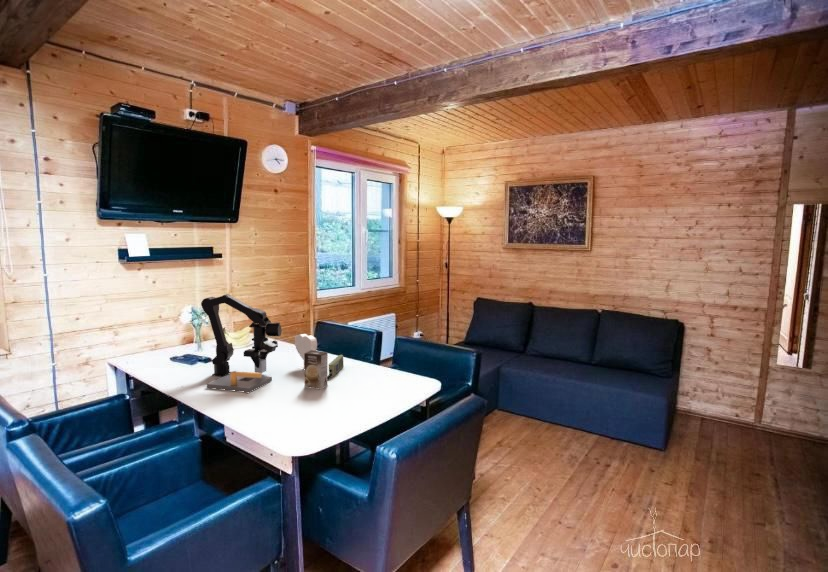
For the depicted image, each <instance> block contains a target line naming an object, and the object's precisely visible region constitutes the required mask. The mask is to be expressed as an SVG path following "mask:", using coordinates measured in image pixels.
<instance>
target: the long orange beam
mask: <svg viewBox="0 0 828 572" xmlns="http://www.w3.org/2000/svg"><path fill="white" fill-rule="evenodd" d="M230 372H231V373H230V374H231V385H237V376H239V377H257V378H260V377H262V376H263V373H256V372H248V371H247V372H246V371H237V370H235V371H234V370H233V371H230Z"/></svg>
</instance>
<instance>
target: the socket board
mask: <svg viewBox="0 0 828 572" xmlns="http://www.w3.org/2000/svg"><path fill="white" fill-rule="evenodd" d="M270 381H271V382H272V381H273V377H272V376H267V375H266V376H265V375H262V377H260V378H257V377H239V376H237V385H231V373H230V374H227V375H225V376H221V377H220V378H218V379H214V380H213V381H212V380H211V382H208V383H206V389H210V388H216V389H215V390H219V389H225V390H224V391H228V390H235V391H234V392H237V391H244V392H243V393H246V392H249V393H251V392H253V391H255V390H257V389H259V388H261V387H263V386H265V385H266V383H267V384H269V383H271V382H270ZM268 382H269V383H268ZM264 384H265V385H264ZM262 385H263V386H262ZM260 386H261V387H260ZM258 387H259V388H258ZM256 388H257V389H256ZM254 389H255V390H254ZM252 390H253V391H252ZM250 391H251V392H250Z"/></svg>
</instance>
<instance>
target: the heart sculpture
mask: <svg viewBox="0 0 828 572" xmlns="http://www.w3.org/2000/svg"><path fill="white" fill-rule="evenodd" d="M294 344H295V345H294V346H295V349H296V352H297V353H298V354H299V356H300V358H301V359H302V360H303V361H304V353H306V352H308V351H311V350H314V351H317V349H318V340H317V337H315V336H314V335H308V334H307V333H302V334H296V335H295V336H294ZM300 366H301V367H300V368H303V369H304V365H300Z"/></svg>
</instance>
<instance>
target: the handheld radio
mask: <svg viewBox="0 0 828 572" xmlns="http://www.w3.org/2000/svg"><path fill="white" fill-rule="evenodd" d="M343 367H344V355H343V354H339V355H338V356H336V357H335V358H334V359H333V360H332V361H331V362H330V363H328V374H327V380H329V379H330V378H331V376H334V375H335V376H336V375H337V374H338V373H337V372H338V371H339V372H340V371H341V370H342V369H343ZM336 373H337V374H336ZM335 376H334V377H335Z"/></svg>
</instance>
